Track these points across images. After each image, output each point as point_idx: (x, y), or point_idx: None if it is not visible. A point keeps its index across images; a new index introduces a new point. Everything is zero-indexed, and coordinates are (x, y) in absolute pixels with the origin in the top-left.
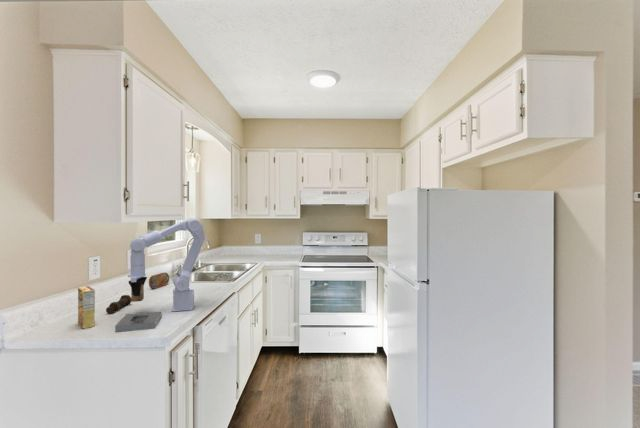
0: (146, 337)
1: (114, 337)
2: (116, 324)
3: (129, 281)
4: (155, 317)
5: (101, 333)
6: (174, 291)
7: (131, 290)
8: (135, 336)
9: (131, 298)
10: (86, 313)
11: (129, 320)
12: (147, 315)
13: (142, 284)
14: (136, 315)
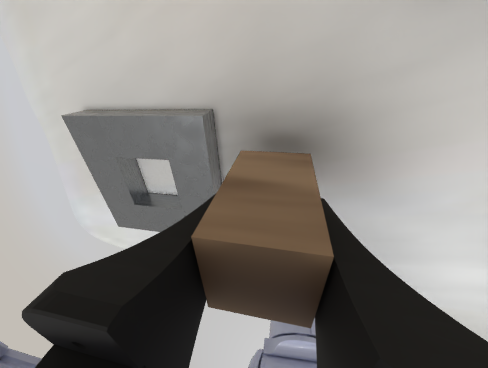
0: (75, 202)
1: (49, 123)
2: (73, 116)
3: (27, 319)
4: (156, 226)
5: (62, 55)
6: (283, 337)
7: (211, 202)
8: (73, 178)
9: (235, 161)
10: None
11: (121, 154)
12: (180, 203)
13: (267, 318)
14: (180, 167)
